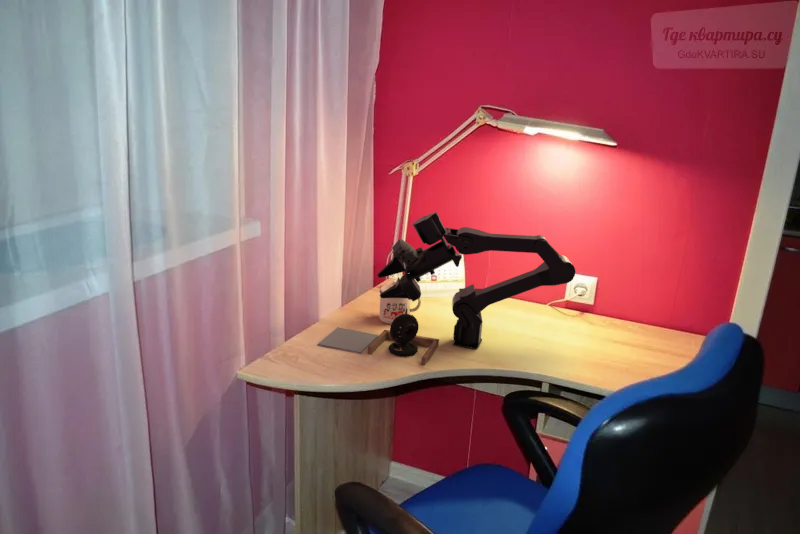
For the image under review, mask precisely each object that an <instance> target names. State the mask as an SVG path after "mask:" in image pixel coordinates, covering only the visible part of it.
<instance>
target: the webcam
mask: <svg viewBox="0 0 800 534" xmlns="http://www.w3.org/2000/svg"><path fill="white" fill-rule="evenodd" d="M418 321H419V320H417V318H416V317H415V316H414V315H413V314H411V313H410V314H402V315H400V316H398V317H396V318H395V319H394V320H393V322H392V324H390V326H389V330H390V335H391V337H392V339H393V341H394V342H392V343H390V344H389V345H388V352H389V353H390V354H391V355H393V356H396V357H400V358H401V357H402V358H409V357H413V356H415V355H416V354H418V351H419V347H418V345H417V344H414V343H411V342H410V341H411V340H413V339H414V338H415V336H416V335H417V334H418V332H419V322H418ZM392 339H391V340H392ZM396 339H397V340H396ZM396 348H400V350H399V349H396Z"/></svg>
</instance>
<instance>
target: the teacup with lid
mask: <svg viewBox="0 0 800 534" xmlns="http://www.w3.org/2000/svg"><path fill="white" fill-rule="evenodd" d="M396 282H397V279H394V280H392V282H391V283H389V284H385V285H383V286H381V288H380V289H379V293H380V294H381V293H383V292H384V291H385V290H387V289H389V288H390V287H392V286H393V285H395V284H396ZM380 294H379V295H380ZM417 301H418V303H417V305H416V306H415V307H414V308H411V300H409V299H408V298H381V297H380V296H379V316H378V317H379V320H380V321H381V322H383V323H385V324H387V325H391V324H392V322H393V320H394V319H395V318H396V317H398V316H400V315H402V314H410V315H411V313H414V312H417V311H418V310H419V309H420V307H421V304H422V300H421V297H420V298H419V299H417Z"/></svg>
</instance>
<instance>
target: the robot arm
mask: <svg viewBox="0 0 800 534" xmlns="http://www.w3.org/2000/svg"><path fill="white" fill-rule="evenodd" d="M440 218H441V217H440V216H439V214H438V212H437V211H434V212H433V213H428V214H426V215H423V216H421V217H419V218H417V219H416V220H415V221H414V222H413V223H412V224H411V225H412V227H413V229H415V232H416V233H417V236H418V237H419V239H420V240H421V243H422V244H424V245H425V244H426V245H429V246H428V247H426V248H425V249H424V248H423V247H418V248H414V247H413V246H412V245H411V244H409V243H408V242H407V241H405V240H403V239H401V238H400V239H398V240H397V241H396V242H395V244H393V246H391V249H392V258H391V260H390V261H389V262H388V263H387V264H386V265H385V266H384V267H383V268H382V269H381V270H380V271H379V272H378V273H377V277H378V278H379V279H381V278H385V277H386V278H387V277H388V276H392V275H396V274H400V273H403V272H404V274H403V275H401V276H400V277H397V279H396V280H397V282H396V284H395V285H393V286H392V287H390V288H389V289H387V290H385V291H384V292H383V293H381V294H379V298H380V297H381V298H408V299H409V300H410V301H412V302H415V301H418V299H419V298H420V299H421V296H422V292H421V286H420V284H419V282H421V281H422V280H421V279H422V278H421V277H423V276H425V275H427V274H430V275H431V276H433V275H435V273H436V272H435V270H437V269H439V268H440V267H442V266H444V265H446V264H448V263H450V262H453V264H454V266H455V267H457V268H458V267H459V266H460V262H461V260H462V258H463V257H462V255H463V256H464V255H465V256H466V255H475V254H480V253H485V252H490V251H491V252H492V251H493V252H494V251H495V252H507V253H509V252H510V253H514V252H515V253H526V254H527V253H528V254H537V255H538V256H539V257H540V259H542V261H543V262H542V263H541V264H539V265H538V266H537V267H536V268H534V269H533V270H529V271H526V272H524V273H521V274H519V275H516V276H514V277H511V278H508V279H505V280H503V281H501V282H497V283H495V284H492V285H490V286H487V287H484V288H476V287H475V284H474V283H473V284H470V285H468V286H466V287H463V288H459V289H458V292H455V294H454V295H453V297H452V301H451V303H452V304H451V305H452V306H451V307H452V314H454V316H455V317H456V318H457V320H456V323H455V324H454V326H453V327H454V328H453V337H452V338H453V344H452V345H453V346H458V347H461V348H462V347H463V348H469V349H473V350H477V349H478V348H479V347H480V345H481V344H482V342H483V338H482V333H483V332H482V330H483V317H482V311H483V310H485V309H486V308H487V307H488V306H490V305H492V304H495V303H499V302H501V301H504V300H506V299H509V298H512V297H514V296H518V295H521V294H523V293H526V292H529V291H531V290H534V289H536V288H539V287H540V288H541V287H554V286H560V285H564V284H568V283H570V282H572V281H573V280H574V277H575V276H576V268H575V266H574V264H573V263H572V262H571V260H570V259H569V258H568V257H567V256H565V255H562V254H559V252H557V250H556V249H555V248H554V247H553V246H552V245H551V244H550V242H549V241H548V240H547V238H546V237H545V236H544V235H540V234H537V235H522V234H507V233H506V234H505V233H490V232H486V231H484V230H481V229H477V228H473V227H466V226H463V227H460V228H459V229H456V228H450V227H445V226H444V224H443V222H442V220H441V219H440ZM457 252H458V253H457Z"/></svg>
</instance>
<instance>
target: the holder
mask: <svg viewBox="0 0 800 534" xmlns="http://www.w3.org/2000/svg"><path fill="white" fill-rule="evenodd" d="M378 335H379V336H378V337H377V338H376V339H375V340H374V341H373V342H372V343H371V344H370V345H369V346H368V347H367V355H373V354H374V352H375V351H376V350H378V348H379V347H380V346H381V345H382V344H383V343H384V342H385V341H386V340H387V339H388V340H393V339H392V337H391V335H390V329H389V330H388V329H384V330H382V332H380V334H378ZM396 340H397V339H396ZM393 341H394V340H393ZM410 342H411V343H414V344H415V345H417V346H418V345H420V346H425V347H428V348H427V349H426V351H425V352H424V353H423V354H422V355H421V360H420V361H421V363H420V365H422V366H427V364H428V362H429V361H430V360H431V358H432V356H433V355H435V352H436V351H437V349H438V348H439V344H440V339H439V338H432V337H427V336H423V335H422V336H421V335H417V334H416V336H415V338H414V339H413V340H411V341H410Z"/></svg>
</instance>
